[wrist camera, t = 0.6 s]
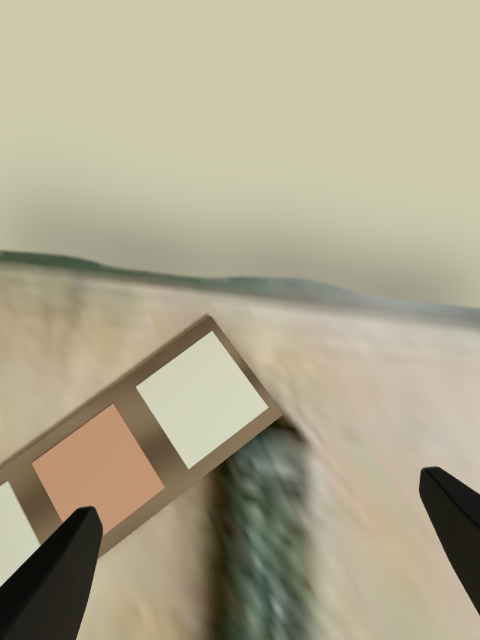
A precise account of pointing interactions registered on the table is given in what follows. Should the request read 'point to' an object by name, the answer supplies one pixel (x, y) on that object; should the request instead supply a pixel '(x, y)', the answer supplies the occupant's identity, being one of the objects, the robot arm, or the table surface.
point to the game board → (135, 445)
